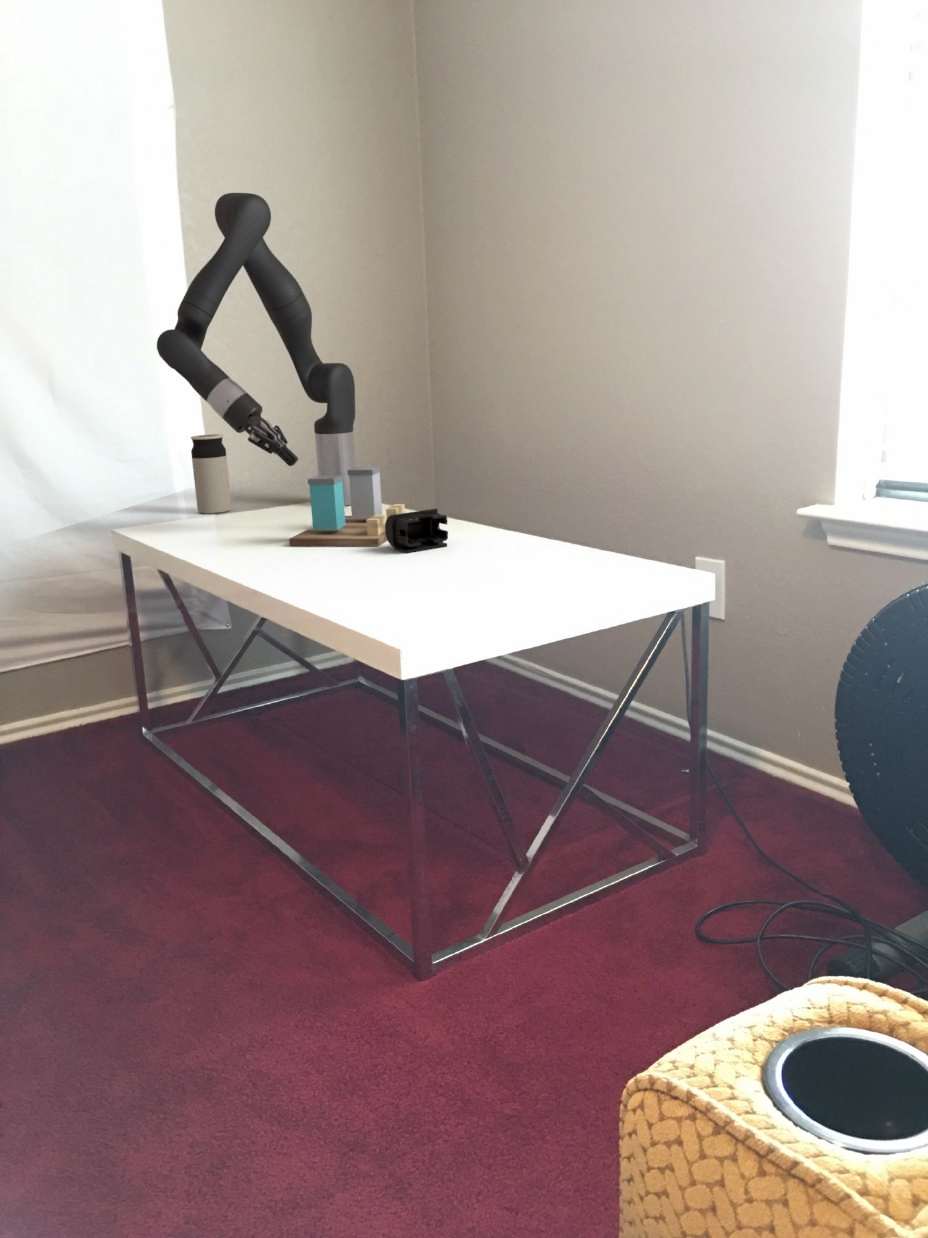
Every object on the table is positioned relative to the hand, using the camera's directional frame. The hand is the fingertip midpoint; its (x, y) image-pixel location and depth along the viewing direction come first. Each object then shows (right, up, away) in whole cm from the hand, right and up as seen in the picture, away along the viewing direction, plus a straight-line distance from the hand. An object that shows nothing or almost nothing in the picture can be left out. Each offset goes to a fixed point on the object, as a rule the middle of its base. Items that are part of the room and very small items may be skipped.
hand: (294, 462), depth 217 cm
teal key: (+9, -15, -12) cm, 21 cm away
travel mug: (-24, -7, +31) cm, 40 cm away
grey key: (+15, -11, 0) cm, 19 cm away
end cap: (+27, -20, -22) cm, 40 cm away
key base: (+13, -15, -6) cm, 21 cm away
